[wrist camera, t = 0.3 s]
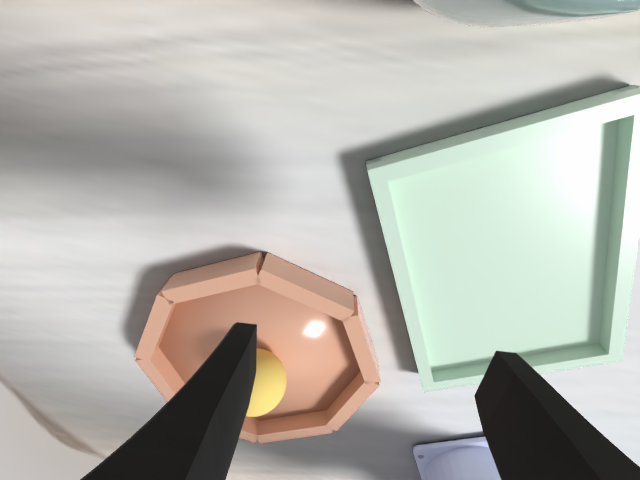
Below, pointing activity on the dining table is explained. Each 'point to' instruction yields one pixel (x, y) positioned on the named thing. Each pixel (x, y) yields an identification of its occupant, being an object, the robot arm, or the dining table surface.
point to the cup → (524, 11)
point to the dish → (266, 339)
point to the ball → (267, 384)
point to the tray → (517, 239)
